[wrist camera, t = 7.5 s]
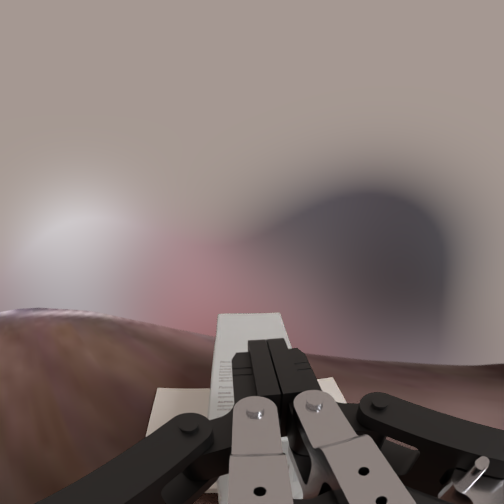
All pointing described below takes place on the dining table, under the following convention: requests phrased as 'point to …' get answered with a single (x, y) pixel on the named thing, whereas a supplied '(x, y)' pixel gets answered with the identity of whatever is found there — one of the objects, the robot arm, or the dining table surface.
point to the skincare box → (221, 388)
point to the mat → (204, 405)
